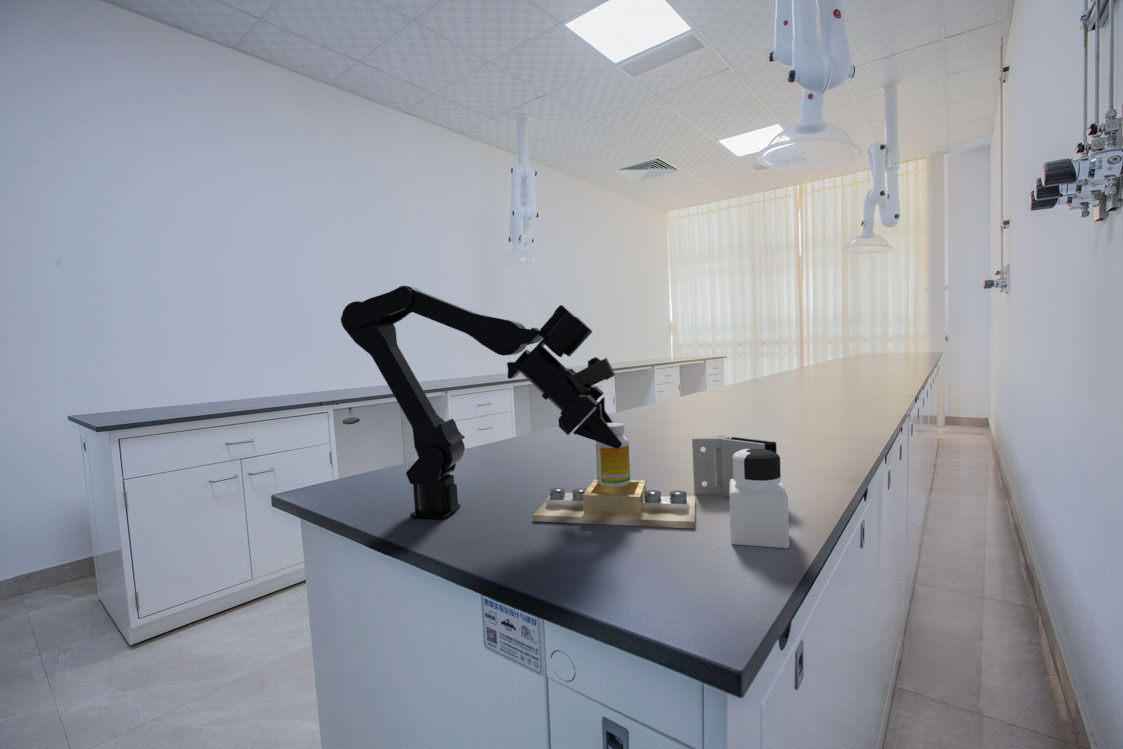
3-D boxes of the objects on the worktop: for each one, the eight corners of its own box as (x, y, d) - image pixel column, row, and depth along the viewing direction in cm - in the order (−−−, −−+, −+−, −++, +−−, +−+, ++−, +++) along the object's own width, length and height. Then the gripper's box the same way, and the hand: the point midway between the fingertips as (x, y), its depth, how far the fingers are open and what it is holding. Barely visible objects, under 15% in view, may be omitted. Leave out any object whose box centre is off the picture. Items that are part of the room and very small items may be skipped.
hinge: (692, 494, 89) (690, 438, 89) (703, 486, 93) (702, 433, 93) (773, 506, 81) (772, 444, 80) (782, 497, 85) (780, 438, 84)
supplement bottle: (636, 484, 80) (634, 424, 80) (608, 489, 78) (606, 428, 77) (618, 476, 85) (616, 420, 85) (591, 481, 83) (589, 424, 82)
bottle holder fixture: (541, 512, 81) (540, 493, 80) (556, 495, 89) (555, 478, 89) (687, 517, 74) (686, 498, 74) (688, 499, 83) (688, 481, 83)
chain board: (533, 521, 80) (532, 515, 79) (554, 497, 91) (553, 492, 91) (694, 528, 73) (694, 521, 73) (695, 502, 84) (695, 496, 84)
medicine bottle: (784, 529, 71) (781, 446, 70) (789, 549, 64) (787, 457, 63) (731, 525, 73) (728, 445, 72) (731, 545, 66) (728, 456, 66)
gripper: (577, 341, 72) (657, 416, 71) (589, 341, 90) (653, 400, 89) (526, 397, 73) (604, 471, 72) (548, 385, 92) (610, 444, 91)
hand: (620, 442), depth 81 cm, fingers closed on supplement bottle, 5 cm apart
